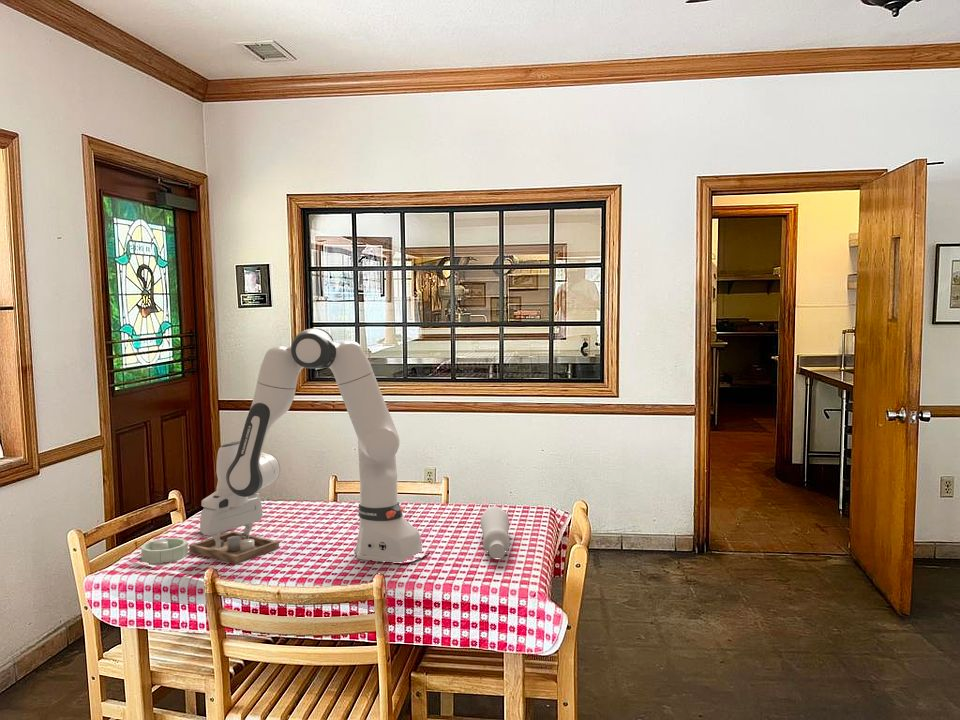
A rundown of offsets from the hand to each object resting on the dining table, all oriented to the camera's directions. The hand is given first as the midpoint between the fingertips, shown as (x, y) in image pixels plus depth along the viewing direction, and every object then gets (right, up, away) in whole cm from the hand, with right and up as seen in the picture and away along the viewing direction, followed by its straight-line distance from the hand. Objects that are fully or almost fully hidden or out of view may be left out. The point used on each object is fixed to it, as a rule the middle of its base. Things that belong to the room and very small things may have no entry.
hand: (232, 542), depth 209 cm
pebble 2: (0, -2, 0) cm, 2 cm away
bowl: (-18, -3, -5) cm, 19 cm away
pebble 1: (-19, -2, -4) cm, 20 cm away
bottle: (+78, -3, +5) cm, 78 cm away
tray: (0, -3, 0) cm, 3 cm away
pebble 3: (+5, -2, -2) cm, 6 cm away
